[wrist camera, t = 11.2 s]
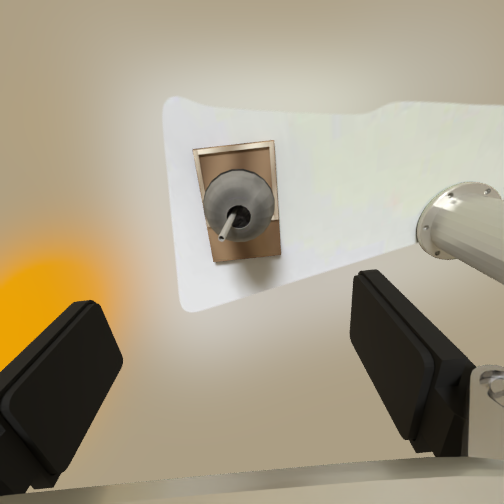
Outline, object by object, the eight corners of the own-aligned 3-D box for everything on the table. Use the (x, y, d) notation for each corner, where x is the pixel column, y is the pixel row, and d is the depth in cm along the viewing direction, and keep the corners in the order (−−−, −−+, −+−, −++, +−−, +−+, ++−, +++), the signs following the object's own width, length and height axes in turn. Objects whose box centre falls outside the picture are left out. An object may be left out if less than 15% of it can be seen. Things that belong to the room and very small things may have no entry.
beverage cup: (268, 206, 37) (295, 271, 19) (220, 215, 38) (201, 287, 19) (260, 155, 34) (282, 172, 16) (208, 165, 35) (171, 194, 16)
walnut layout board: (273, 140, 35) (274, 140, 33) (280, 251, 42) (281, 255, 40) (194, 149, 35) (191, 149, 33) (214, 258, 42) (213, 263, 40)
